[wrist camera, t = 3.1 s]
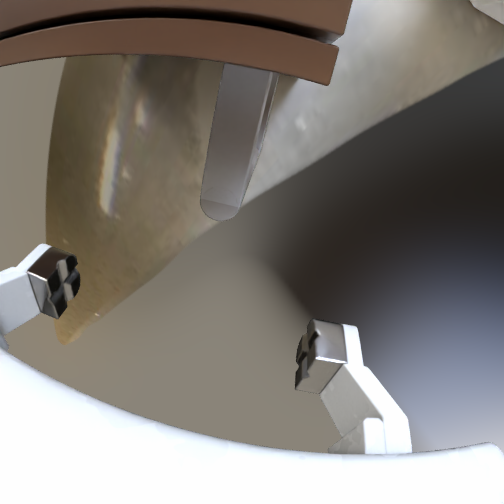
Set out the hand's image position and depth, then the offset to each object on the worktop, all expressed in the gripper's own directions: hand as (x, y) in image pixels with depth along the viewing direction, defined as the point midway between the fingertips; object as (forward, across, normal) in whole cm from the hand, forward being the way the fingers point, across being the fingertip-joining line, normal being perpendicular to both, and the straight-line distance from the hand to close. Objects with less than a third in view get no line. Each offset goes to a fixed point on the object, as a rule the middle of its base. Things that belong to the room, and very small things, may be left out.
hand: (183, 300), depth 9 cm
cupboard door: (+22, +7, -4) cm, 24 cm away
